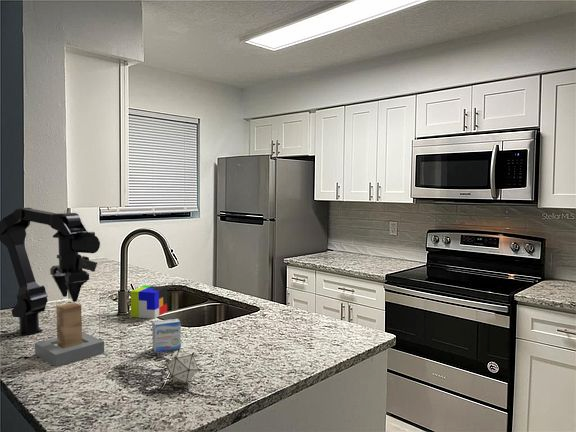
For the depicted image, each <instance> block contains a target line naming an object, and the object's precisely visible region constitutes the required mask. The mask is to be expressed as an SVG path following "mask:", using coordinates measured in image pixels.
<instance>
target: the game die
mask: <svg viewBox="0 0 576 432" xmlns="http://www.w3.org/2000/svg"><path fill="white" fill-rule="evenodd" d="M194 355H195V351H194V352H193V351H192V353H187V352H182V351H180V349H177V353H175V355H174V356H173V357H172V358H171V359H170V360H169V361H168V362H167V363H162V365H163V366H165V367H166V368H167V370H168V372H169V375H170V376H169V379H171V380H170V383H173V382H174V381H175V382H178V383H183V384H185V386H186V387H188V386H189V385H188V383H189V382H190V381H191V379H192V378H193V377H195V375H196V374H197V373H198V371H199V372H202V371H203V370H202V369H201V368H199V367H198V364H197V362H196V360H195V357H194Z"/></svg>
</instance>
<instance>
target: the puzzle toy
mask: <svg viewBox="0 0 576 432" xmlns="http://www.w3.org/2000/svg"><path fill="white" fill-rule="evenodd" d="M167 312H168V286H158V285H157V286H156V285H142V286H140V287H137V288H135V289H133V290H130V317H132V318H140V319H141V318H144V319H153V320H154V319H156V318H158V317H160V316H162V315H164V314H165V313H167Z"/></svg>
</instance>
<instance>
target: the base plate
mask: <svg viewBox="0 0 576 432" xmlns="http://www.w3.org/2000/svg"><path fill="white" fill-rule="evenodd" d="M104 353H105V340H102V339H100V338H97V337H95V336H93V335H91V334H88V333H86V332H84V331H82V344H79V345H76V346H72V347H68V348H64V349H63V348H62V347H60V346H58V345H57V337H53V338H50V339H46V340H41V341H38V342H35V343H34V355H35V356H36V357H38V358H40V359H41V360H43V361H45V362H47V363H48V364H49V365H52V366H53V367H55V368H58V367H61V366H64V365H68V364H71V363H74V362H78V361H81V360H84V359H87V358H88V359H89V358H91V357H94V356H98V355H101V354H104Z"/></svg>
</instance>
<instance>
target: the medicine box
mask: <svg viewBox="0 0 576 432" xmlns="http://www.w3.org/2000/svg"><path fill="white" fill-rule="evenodd" d="M151 324H152V325H151V329H152V332H151V333H152V336H151V337H152V339H151V341H152V350H153V351H154V353H155V354H156V353H162V352H170V351H175V350H178V349H179V350H180V349H181V347H182V344H181V343H182V342H181V341H182V337H181V335H182V334H181V333H182V329H181V328H182V327H181V326H182V324H181V321H180V319H179V318H172V319H164V320H157V321H156V320H155V321H152V322H151Z"/></svg>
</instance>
